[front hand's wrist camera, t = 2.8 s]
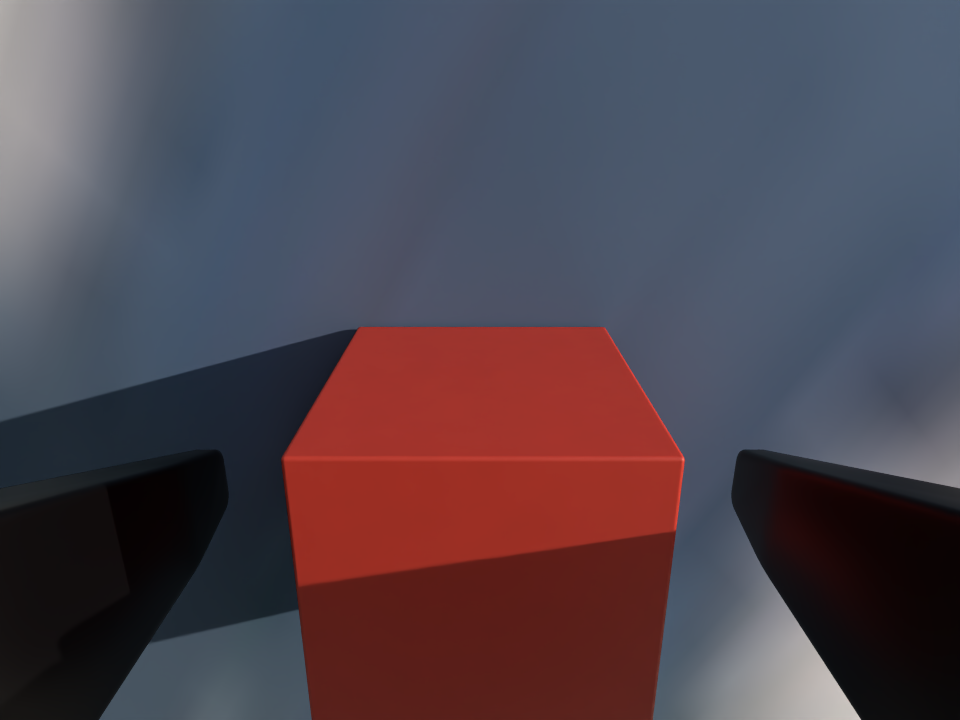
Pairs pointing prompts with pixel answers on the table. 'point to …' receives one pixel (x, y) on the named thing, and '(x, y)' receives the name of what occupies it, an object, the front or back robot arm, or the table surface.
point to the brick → (482, 528)
